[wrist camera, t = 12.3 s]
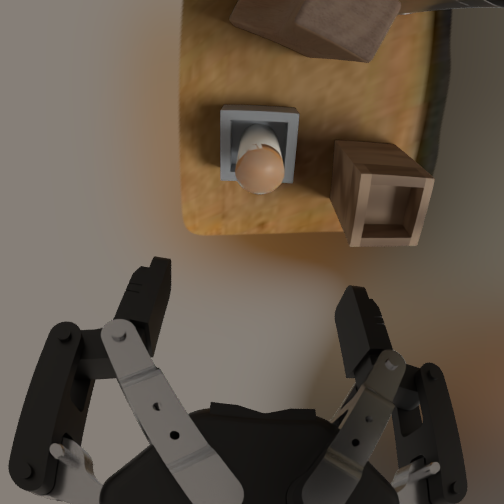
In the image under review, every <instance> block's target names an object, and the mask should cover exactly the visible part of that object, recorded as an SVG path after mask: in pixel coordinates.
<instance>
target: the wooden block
mask: <svg viewBox="0 0 504 504" xmlns="http://www.w3.org/2000/svg"><path fill="white" fill-rule="evenodd" d="M400 9H401V3H400V2H399V1H398V0H238V2H237V4H236V6H235V8H234V10H233V12H232V14H231V16H230V17H229V21H230V22H231V23H232V24H233V25H234V26H235V27H238V28H241V29H243V30H246V31H249V32H251V33H254V34H257V35H259V36H262V37H264V38H267V39H269V40H271V41H274V42H276V43H279V44H281V45H283V46H285V47H288V48H290V49H292V50H294V51H296V52H298V53H301V54H303V55H305V56H307V57H310V58H325V59H337V60H348V61H357V62H365V63H369V62H370V61H371V60H372V59H373V58H374V56H375V54H376V52H377V50H378V49H379V47H380V45H381V43H382V41H383V40H384V38H385V36H386V34H387V32H388V31H389V29H390V27H391V25H392V23H393V22H394V20H395V18H396V16H397V14H398V12H399V11H400Z"/></svg>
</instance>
